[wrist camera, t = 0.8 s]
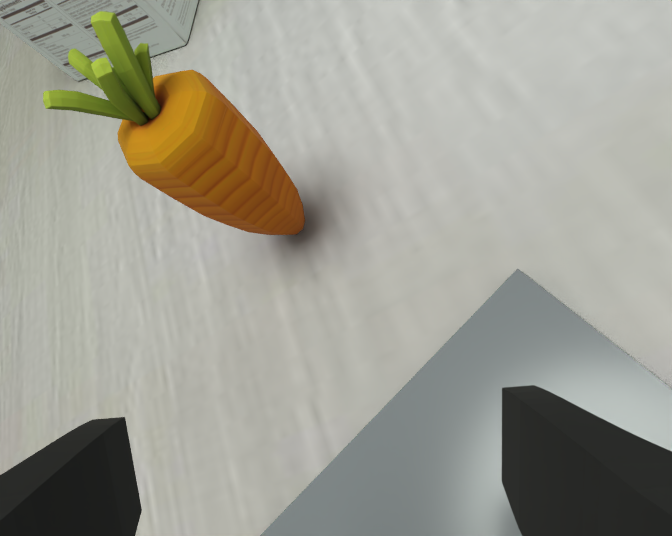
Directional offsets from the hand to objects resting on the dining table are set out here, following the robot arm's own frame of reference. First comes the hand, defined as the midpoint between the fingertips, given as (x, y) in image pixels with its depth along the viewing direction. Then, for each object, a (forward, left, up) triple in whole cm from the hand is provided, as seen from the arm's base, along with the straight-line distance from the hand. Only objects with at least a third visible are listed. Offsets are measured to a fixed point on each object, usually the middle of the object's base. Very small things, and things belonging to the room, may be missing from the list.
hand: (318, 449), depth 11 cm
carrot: (+17, -1, -14) cm, 22 cm away
